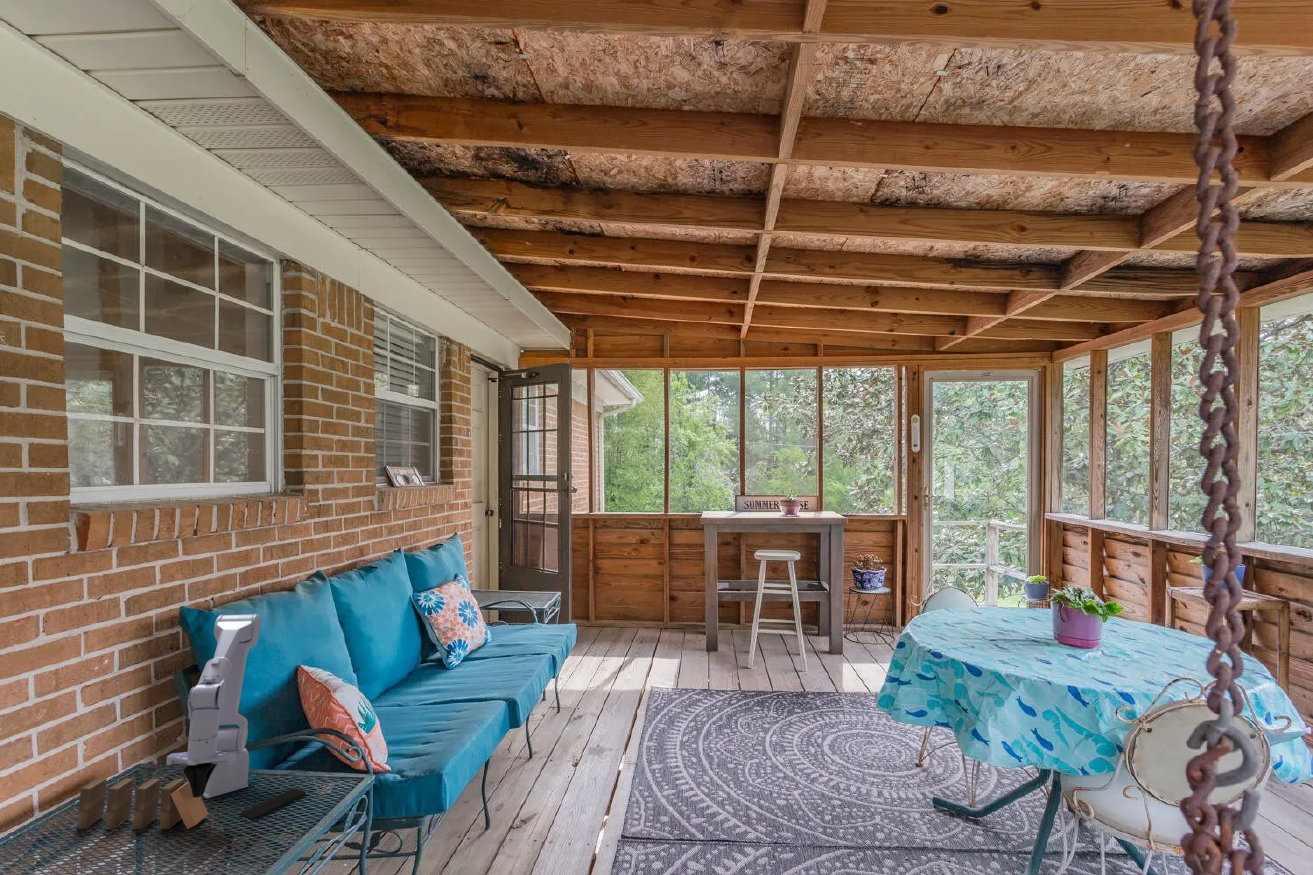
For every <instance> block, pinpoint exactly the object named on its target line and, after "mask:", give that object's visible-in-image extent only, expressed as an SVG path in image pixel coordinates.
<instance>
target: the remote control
mask: <svg viewBox="0 0 1313 875" xmlns="http://www.w3.org/2000/svg"><path fill="white" fill-rule="evenodd" d="M305 795H306V796H307V794H306V791H305V790H303V789H299V788H295V787H294V788H291V789H289V790H286V791H285V792H282V793H280V794H278V795H275V796H273V797H271V798H269V799H267V800H265V801H263V802H260V803H259V804H256V805H254V806H251V807H249V808H248V809H245V810H243V811H242V812H241V813H240V816H243V817H245V818H248V819H249V820H254V819H257V820H259V819H261V818H263V817H265V816H264V815H266V816H267V815H270V814H272V813H274V812H276V811H278V810H280V809H282V808H284V807H286V805H287V806H288V804H289V805H291V804H292V802H293V801H295V800H297V799H299V798H301V797H303V796H305ZM306 796H305V797H306ZM303 798H304V797H303ZM301 799H302V798H301ZM299 800H300V799H299ZM297 801H298V800H297ZM295 802H296V801H295ZM290 803H291V804H290ZM293 803H294V802H293ZM279 808H280V809H279ZM277 809H278V810H277ZM275 810H276V811H275ZM271 812H272V813H271ZM269 813H270V814H269ZM262 816H263V817H262ZM260 817H261V818H260ZM258 818H259V819H258Z"/></svg>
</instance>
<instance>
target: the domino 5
mask: <svg viewBox="0 0 1313 875" xmlns="http://www.w3.org/2000/svg"><path fill="white" fill-rule="evenodd" d="M170 795H171V797H172V799H173V801H174V803H175V805H176V807H177V809H178V811H179V813H180V815H181V817H182V819H181V820H182V821H183V824H184V825H185V827H186V829H187V830H189V829H191V828H193V827H195V826H196V825H198V824H199V823H200V822H201V821H202V820H204V818H206V817H207V816H208V815H209V812H208V809H207V807H206V805H205V803H204V801H203V799H202V797H201V796H200V797H193V794H192V789H191V786H190V783H189V781H187V782H186V783H185V782H184V785H182V786H181V787H179V788H178V789H177V790H175V791H174V792H173V793H171V794H170Z"/></svg>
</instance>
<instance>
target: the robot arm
mask: <svg viewBox="0 0 1313 875" xmlns="http://www.w3.org/2000/svg"><path fill="white" fill-rule="evenodd" d="M261 619H262V618H261V616H260V615H259V614H258V613H255V614H254V613H253V614H220V615H218V617H217V618H216V619H215V622H214V627H213V636H214V637H215V641H216V643H217V645H216V648H215V652H214V655H213V658H211V659H209V660H208V661H207V662H206V663H205V665H204V668H203V670H202V672H201V675H200V678H199V680H198V683H197V684H196V685H195V686H192V687H191V689H190V690H189V694H188V698H187V708H188V716H187V717H188V719H189V732H188V744H187V751H184V752H172V753H171V754H169V755H166V762H165V763H166V764H165V765H166V766H171V765H182V764H183V765H186V767H185V768H183V774H184V775H185V777H186V778H187V780H188V782H189V783H190V786H191V789H192V794H193V797H201V796H203V797H204V798H205V799H210V798H211V799H212V798H214V797H217V796H221V795H223V794H228V793H230V792H234V791H237V790H241V789H245V788H247V787H249V784H248V780H249V778H248V777H249V769H250V768H249V767H250V756H249V751H248V750H247V748H246V744H247V740H248V733H249V732H248V725H249V722H248V719H247V718H246V717H245V716H244V715H242V714H240V713H239V707H240V701H241V695H242V688H243V682H244V676H245V671H246V664H247V658H248V654H249V652H250V649H251V648H254V647H256V646H257V645H258V641H259V637H260V632H261V631H260V630H261V626H262V625H261V622H262V620H261ZM233 725H237V726H233ZM221 726H223V727H221Z"/></svg>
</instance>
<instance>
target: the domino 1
mask: <svg viewBox="0 0 1313 875" xmlns="http://www.w3.org/2000/svg"><path fill="white" fill-rule="evenodd" d="M107 781H108V780H107V778H96V779H95V780H93V781H91V782H90V783H88V784H86V785H85V786H83V787H81V788H80V792H79V794H80V795H79V801H78V802H79V804H78V806H79V807H78V812H77V813H78V815H77V823H76V824H77V826H76V829H77V828H78V827H81V828H87V827H88V826H90V825H91V824H93V823H94V822H96V821H97V820H99V819H100V818H101V817H103V818H104V813H105V812H104V810H105V800H106V790H107V789H106V788H107ZM99 821H100V820H99ZM96 823H97V822H96ZM93 825H94V824H93ZM90 827H91V826H90ZM87 829H88V828H87Z"/></svg>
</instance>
